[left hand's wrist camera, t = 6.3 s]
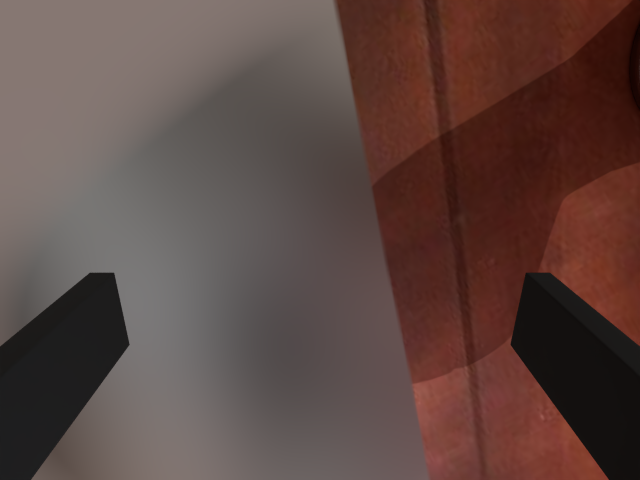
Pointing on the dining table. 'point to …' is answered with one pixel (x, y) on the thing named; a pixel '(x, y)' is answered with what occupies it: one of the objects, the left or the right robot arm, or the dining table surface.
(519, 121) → the dining table surface
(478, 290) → the dining table surface
